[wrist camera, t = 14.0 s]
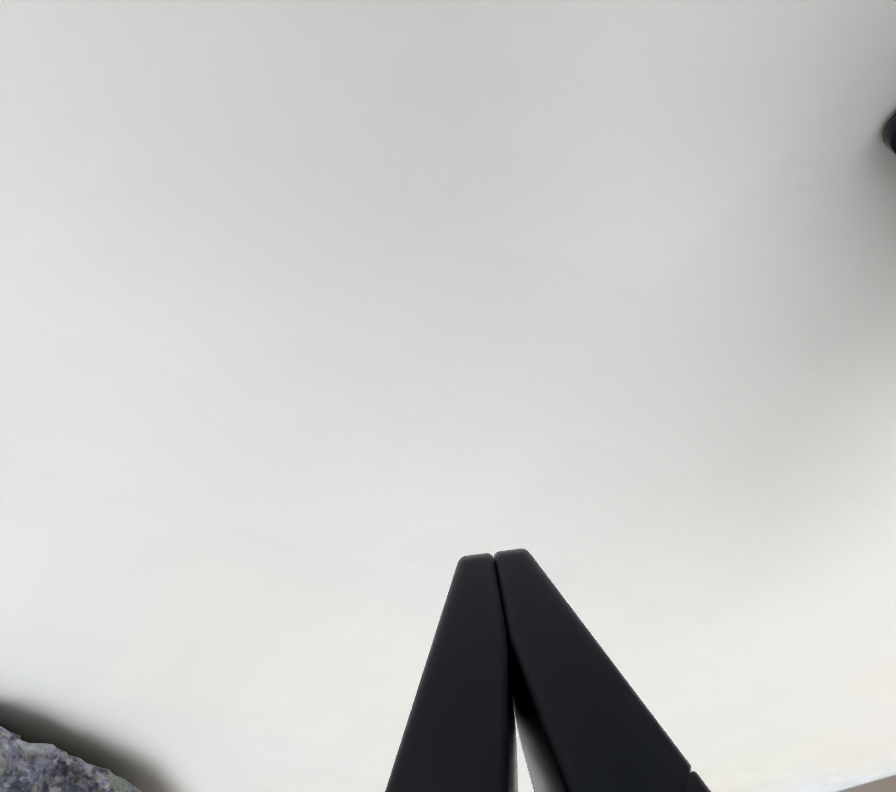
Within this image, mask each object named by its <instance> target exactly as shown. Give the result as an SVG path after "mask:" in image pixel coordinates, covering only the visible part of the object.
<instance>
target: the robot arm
mask: <svg viewBox="0 0 896 792" xmlns="http://www.w3.org/2000/svg"><path fill="white" fill-rule="evenodd" d="M883 142H884V143H885V145H886V146H887V147H888V148H889V149H890V150H891V151H892V152H893V153H894V154H896V115H895V116H894V117H893V118H892V119H891V120H890V122H889V123H888V124H887V126H886V127H885V130H884V133H883ZM514 712H515V715H514ZM515 718H516V723H517V729H518V733H519V737H520V741H521V745H522V749H523V752H524V756H525V760H526V763H527V767H528V771H529V774H530V778H531V781H532V785H533V789H534V792H711V791H710V790H709V788H708V787H707V786H706V785H705V783H704V782H703V781H702V779H701V778H700V777H699V775H698V774H697V773H696V772H694V771H692V772H690V771H691V765H690V764H689V763H688V761H687V760H686V759H685V757H684V756H683V755H682V753H681V752H680V751H679V749H678V748H677V747H676V745H675V744H674V743H673V742H672V740H671V739H670V738H669V736H668V735H667V734H666V732H665V731H664V730H663V728H662V727H661V726H660V724H659V723H658V722H657V720H656V719H655V718H654V716H653V715H652V714H651V712H650V711H649V710H648V709H647V707H646V706H645V705H644V703H643V702H642V701H641V699H640V698H639V697H638V695H637V694H636V693H635V691H634V690H633V689H632V687H631V686H630V685H629V683H628V682H627V681H626V679H625V678H624V677H623V676H622V674H621V673H620V672H619V670H618V669H617V668H616V666H615V665H614V664H613V662H612V661H611V660H610V658H609V657H608V656H607V654H606V653H605V652H604V650H603V649H602V648H601V646H600V645H599V644H598V643H597V641H596V640H595V639H594V637H593V636H592V635H591V633H590V632H589V631H588V629H587V628H586V627H585V625H584V624H583V623H582V621H581V620H580V619H579V617H578V616H577V615H576V613H575V612H574V611H573V610H572V608H571V607H570V606H569V604H568V603H567V602H566V600H565V599H564V598H563V596H562V595H561V594H560V592H559V591H558V590H557V588H556V587H555V586H554V584H553V583H552V582H551V580H550V579H549V578H548V577H547V575H546V574H545V573H544V571H543V570H542V569H541V567H540V566H539V565H538V563H537V562H536V561H535V559H534V558H533V557H532V555H531V554H530V553H529V552H528V551H527V550H525V549H515V550H507V551H500V552H497V553H496V554H495V555H494V559H493V556H492V555H491V554H488V553H485V554H477V555H469V556H464V557H462V558H461V559H460V560H459V562H458V564H457V567H456V570H455V573H454V577H453V580H452V583H451V586H450V589H449V592H448V595H447V599H446V602H445V605H444V608H443V611H442V614H441V618H440V621H439V624H438V627H437V630H436V633H435V636H434V640H433V643H432V646H431V649H430V652H429V655H428V659H427V662H426V665H425V668H424V671H423V674H422V677H421V681H420V684H419V687H418V690H417V693H416V696H415V700H414V703H413V706H412V709H411V712H410V715H409V718H408V722H407V725H406V728H405V731H404V734H403V737H402V741H401V744H400V747H399V750H398V753H397V756H396V759H395V763H394V766H393V769H392V772H391V775H390V778H389V782H388V785H387V788H386V791H385V792H518V773H517V743H516V726H515Z"/></svg>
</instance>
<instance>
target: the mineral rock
mask: <svg viewBox="0 0 896 792" xmlns="http://www.w3.org/2000/svg"><path fill="white" fill-rule="evenodd" d="M0 792H142V791H140V790H139V789H138V788H136V787H135V786H133V785H132V784H131V783H129V782H128V781H127V780H125V779H124V778H121V777H118V776H115V775H114V774H113V773H112V772H111V771H110V770H109V769H105V768H101V767H98V766H95V765H92V764H89V763H86V762H85V761H84V760H82V759H81V758H79V757H75V756H70V755H68V753H67V752H66V751H63V750H61V749H57V748H56V747H55V746H54V745H53V744H46V743H28V742H25V741H23V740H21V736H20V735H17V734H15V733H12V732H9V731H8V730H6V729H5V728H3V727H0Z"/></svg>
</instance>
